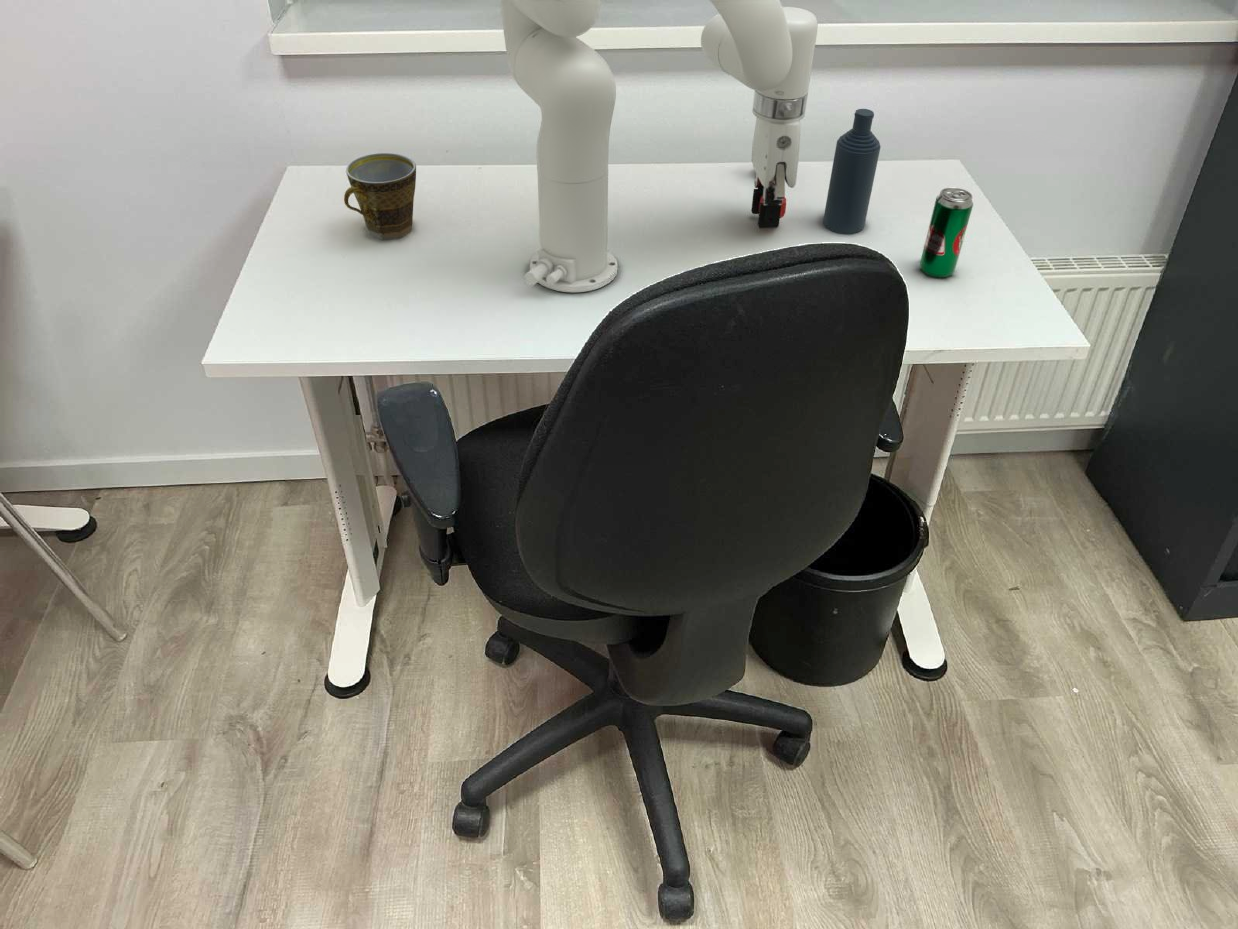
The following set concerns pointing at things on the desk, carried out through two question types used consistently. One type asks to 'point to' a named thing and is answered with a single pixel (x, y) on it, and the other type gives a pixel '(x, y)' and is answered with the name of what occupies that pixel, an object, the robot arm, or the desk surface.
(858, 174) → the bottle
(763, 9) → the robot arm
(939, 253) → the soda can
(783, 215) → the cap
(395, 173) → the ceramic cup
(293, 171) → the desk surface
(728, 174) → the desk surface
